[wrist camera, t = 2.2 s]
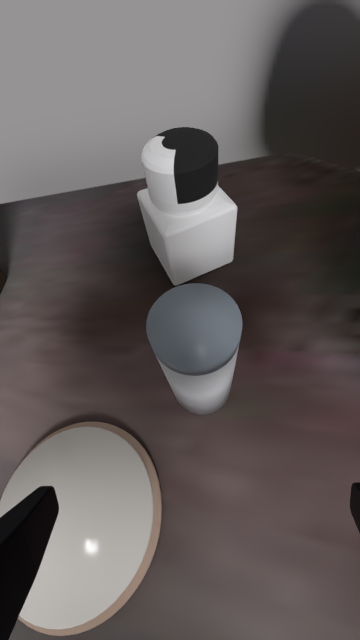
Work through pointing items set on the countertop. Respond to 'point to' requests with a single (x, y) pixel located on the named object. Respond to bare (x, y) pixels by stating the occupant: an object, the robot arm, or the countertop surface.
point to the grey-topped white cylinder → (196, 344)
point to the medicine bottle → (186, 204)
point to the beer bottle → (2, 281)
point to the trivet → (89, 524)
